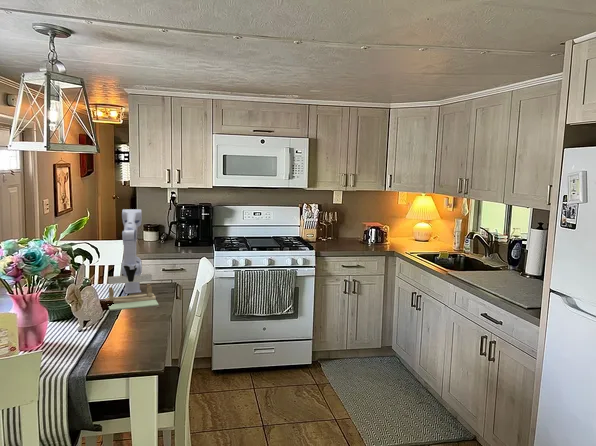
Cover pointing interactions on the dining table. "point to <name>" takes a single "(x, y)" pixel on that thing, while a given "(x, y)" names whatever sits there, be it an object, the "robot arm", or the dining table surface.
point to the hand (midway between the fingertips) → (130, 280)
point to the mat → (133, 305)
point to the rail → (125, 278)
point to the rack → (131, 298)
